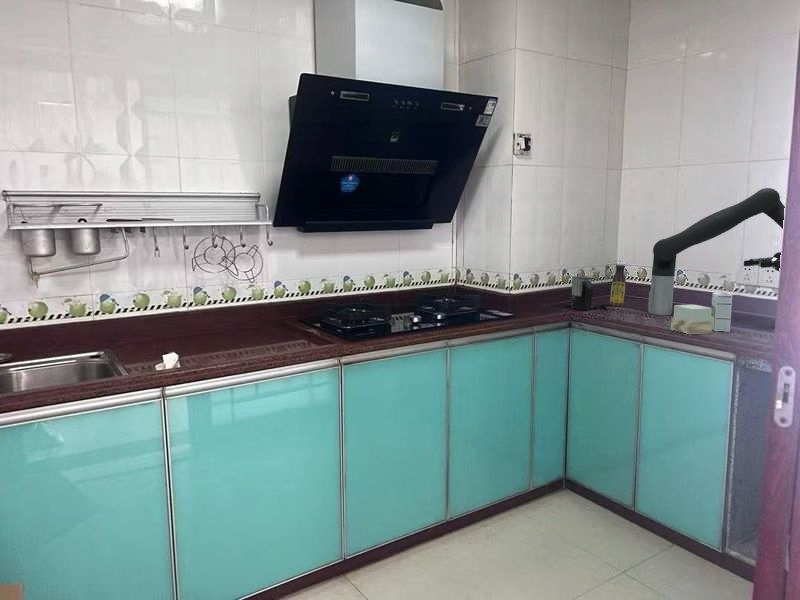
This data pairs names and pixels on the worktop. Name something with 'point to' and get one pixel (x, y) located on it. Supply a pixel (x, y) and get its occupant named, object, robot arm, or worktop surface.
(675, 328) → the bottom block
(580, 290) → the milk frother
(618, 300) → the sauce bottle
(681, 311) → the top block
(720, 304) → the syrup box
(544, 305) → the worktop surface
